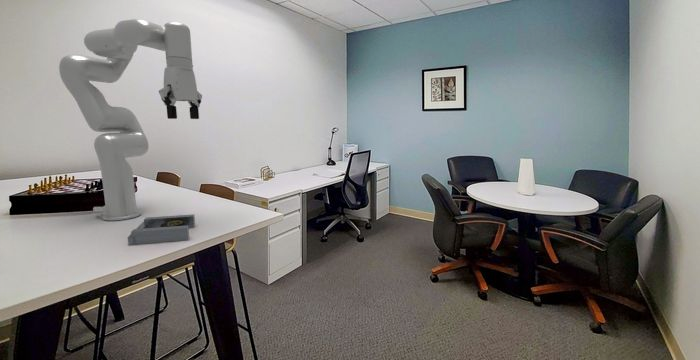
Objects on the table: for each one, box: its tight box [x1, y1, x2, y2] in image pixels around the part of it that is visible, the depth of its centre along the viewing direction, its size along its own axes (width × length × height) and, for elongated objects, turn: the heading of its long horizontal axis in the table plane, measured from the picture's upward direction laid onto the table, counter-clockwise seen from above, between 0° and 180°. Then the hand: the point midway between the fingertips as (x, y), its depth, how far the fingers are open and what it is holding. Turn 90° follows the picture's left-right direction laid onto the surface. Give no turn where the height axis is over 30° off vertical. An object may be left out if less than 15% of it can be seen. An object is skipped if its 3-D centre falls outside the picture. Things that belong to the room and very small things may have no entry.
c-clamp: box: [127, 214, 196, 246], centre depth 106 cm, size 16×18×4 cm
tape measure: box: [160, 220, 185, 227], centre depth 106 cm, size 7×7×4 cm
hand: (184, 118), depth 107 cm, fingers open, 9 cm apart
